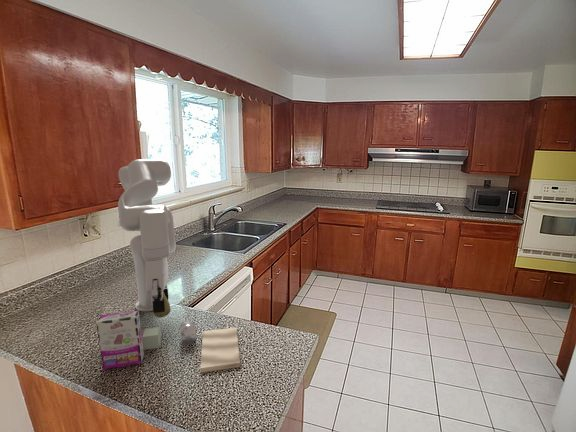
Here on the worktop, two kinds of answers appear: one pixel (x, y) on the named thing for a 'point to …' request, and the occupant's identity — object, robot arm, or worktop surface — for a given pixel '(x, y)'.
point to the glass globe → (188, 332)
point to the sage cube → (151, 338)
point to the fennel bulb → (167, 306)
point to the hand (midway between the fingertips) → (161, 305)
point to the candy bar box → (120, 339)
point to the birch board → (219, 350)
